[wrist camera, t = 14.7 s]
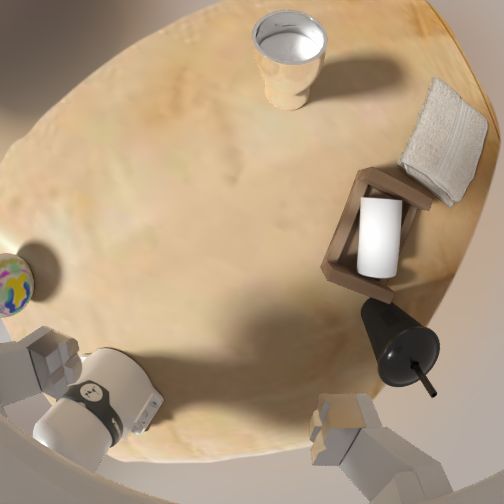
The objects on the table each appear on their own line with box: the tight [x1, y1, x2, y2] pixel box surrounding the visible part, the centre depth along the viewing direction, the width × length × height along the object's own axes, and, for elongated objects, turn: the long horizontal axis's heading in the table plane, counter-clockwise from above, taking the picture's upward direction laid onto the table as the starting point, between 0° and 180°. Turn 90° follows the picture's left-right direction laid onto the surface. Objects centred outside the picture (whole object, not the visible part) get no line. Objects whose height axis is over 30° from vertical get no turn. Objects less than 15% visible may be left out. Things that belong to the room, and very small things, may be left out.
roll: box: [357, 197, 402, 278], centre depth 32 cm, size 9×5×5 cm
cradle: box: [321, 167, 433, 304], centre depth 33 cm, size 14×9×6 cm, turn 160°
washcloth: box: [397, 78, 488, 208], centre depth 31 cm, size 12×18×3 cm, turn 153°
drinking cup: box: [361, 297, 440, 398], centre depth 28 cm, size 8×8×20 cm
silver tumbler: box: [252, 10, 328, 110], centre depth 26 cm, size 7×7×15 cm
